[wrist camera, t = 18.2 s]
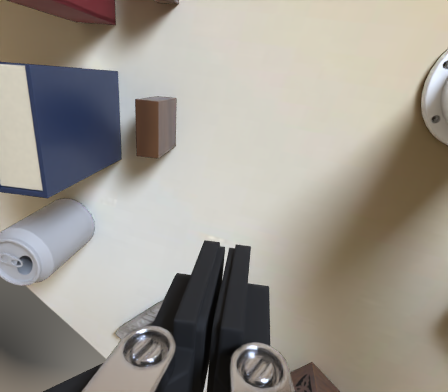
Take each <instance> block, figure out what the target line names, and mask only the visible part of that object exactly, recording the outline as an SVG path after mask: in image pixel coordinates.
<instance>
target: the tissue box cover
mask: <svg viewBox="0 0 448 392" xmlns="http://www.w3.org/2000/svg"><path fill="white" fill-rule="evenodd" d="M290 374H291V378H292V382H293V386H294V390H295V391H296V392H340V391H339V390H338V389H337V388H336V387H335V386H334V385H333V384H332V383H331V382H330V380H329V379H328V378H327V377H326V376H325V375H324V374H323V373H322V372H321V371H320V370H319V369H318V368H317V367H316V366H315V365H314V364H313V363H312V362H311V363H309V364H307V365H305V366H303V367H301V368H299V369H297V370H295V371H293V372H291V373H290Z"/></svg>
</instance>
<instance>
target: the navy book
mask: <svg viewBox="0 0 448 392" xmlns="http://www.w3.org/2000/svg"><path fill="white" fill-rule="evenodd" d="M121 159H122V158H121V135H120V112H119V88H118V71H108V70H95V69H82V68H73V67H60V66H47V65H34V64H21V63H8V62H0V192H3V193H11V194H19V195H27V196H35V197H43V198H49V197H51V196H53V195H55V194H57V193H58V192H60V191H62V190H64V189H66V188H68V187H70V186H72V185H74V184H75V183H77V182H79V181H81V180H83V179H85V178H87V177H89V176H90V175H92V174H94V173H96V172H98V171H100V170H102V169H104V168H106V167H107V166H109V165H111V164H113V163H115V162H117V161H119V160H121Z"/></svg>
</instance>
